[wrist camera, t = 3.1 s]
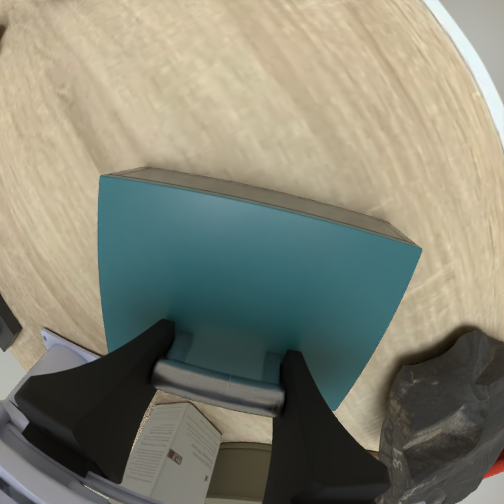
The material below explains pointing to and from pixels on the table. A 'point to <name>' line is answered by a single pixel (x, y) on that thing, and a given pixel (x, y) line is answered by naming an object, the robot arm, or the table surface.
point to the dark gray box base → (265, 198)
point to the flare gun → (496, 466)
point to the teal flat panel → (244, 291)
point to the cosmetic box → (173, 456)
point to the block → (7, 326)
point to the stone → (444, 423)
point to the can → (239, 474)
